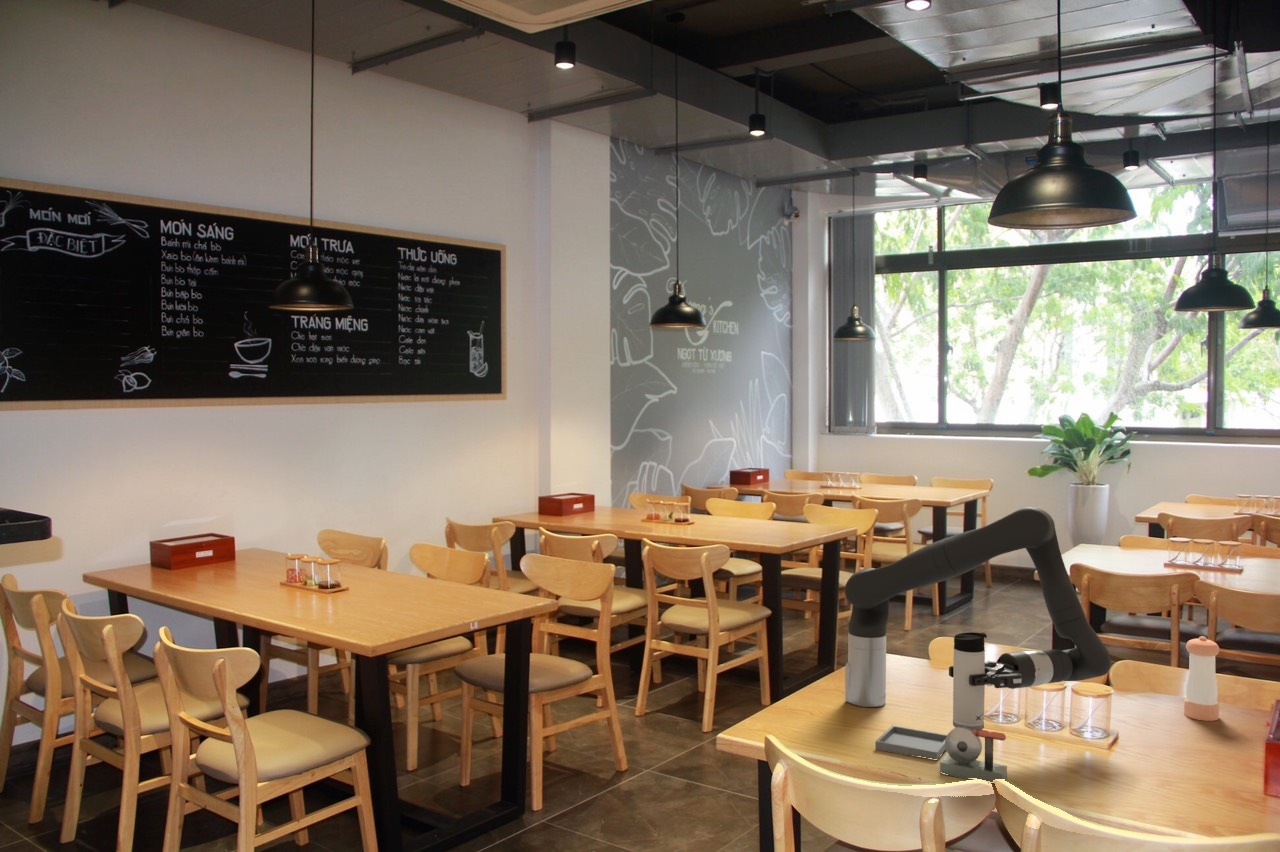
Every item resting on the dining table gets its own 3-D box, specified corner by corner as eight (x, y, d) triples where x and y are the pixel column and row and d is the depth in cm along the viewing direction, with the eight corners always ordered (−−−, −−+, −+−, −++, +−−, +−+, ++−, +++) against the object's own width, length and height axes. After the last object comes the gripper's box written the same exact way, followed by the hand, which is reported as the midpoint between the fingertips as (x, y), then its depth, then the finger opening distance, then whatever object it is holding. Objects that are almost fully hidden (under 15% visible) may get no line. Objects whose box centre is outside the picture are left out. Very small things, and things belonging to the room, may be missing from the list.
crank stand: (939, 773, 202) (940, 727, 201) (946, 766, 206) (946, 720, 206) (1002, 786, 195) (1003, 737, 195) (1008, 777, 200) (1008, 730, 199)
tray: (875, 749, 216) (875, 741, 216) (892, 733, 226) (892, 725, 226) (936, 761, 209) (937, 752, 209) (951, 743, 219) (951, 735, 219)
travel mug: (987, 732, 207) (988, 637, 206) (954, 730, 208) (955, 636, 208) (983, 722, 213) (984, 630, 212) (951, 720, 215) (952, 628, 214)
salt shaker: (1186, 718, 236) (1187, 638, 236) (1182, 709, 243) (1183, 631, 243) (1221, 722, 234) (1222, 641, 233) (1216, 713, 240) (1217, 634, 240)
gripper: (1003, 643, 222) (939, 650, 216) (1049, 660, 208) (982, 667, 203) (1002, 677, 222) (938, 684, 217) (1048, 695, 208) (981, 704, 203)
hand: (960, 676), depth 210 cm, fingers closed on travel mug, 6 cm apart
